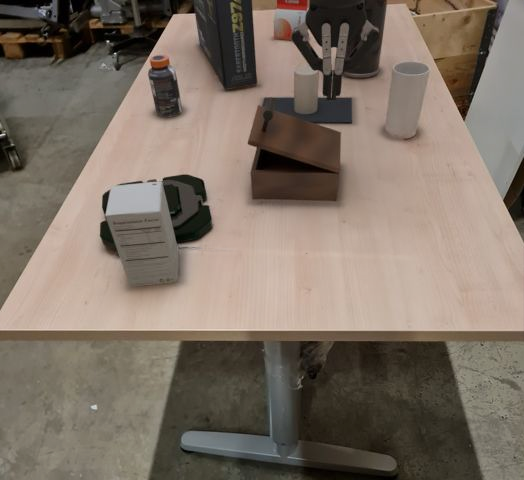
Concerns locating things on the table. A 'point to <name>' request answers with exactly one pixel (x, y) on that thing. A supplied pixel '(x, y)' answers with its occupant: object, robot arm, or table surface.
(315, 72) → the canister
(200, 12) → the box
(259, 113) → the bin lid
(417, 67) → the white cylindrical cup
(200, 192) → the clover-shaped pad
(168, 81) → the pill bottle
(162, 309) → the table surface
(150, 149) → the table surface
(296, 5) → the ink box
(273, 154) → the bread bin
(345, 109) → the mat
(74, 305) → the table surface
